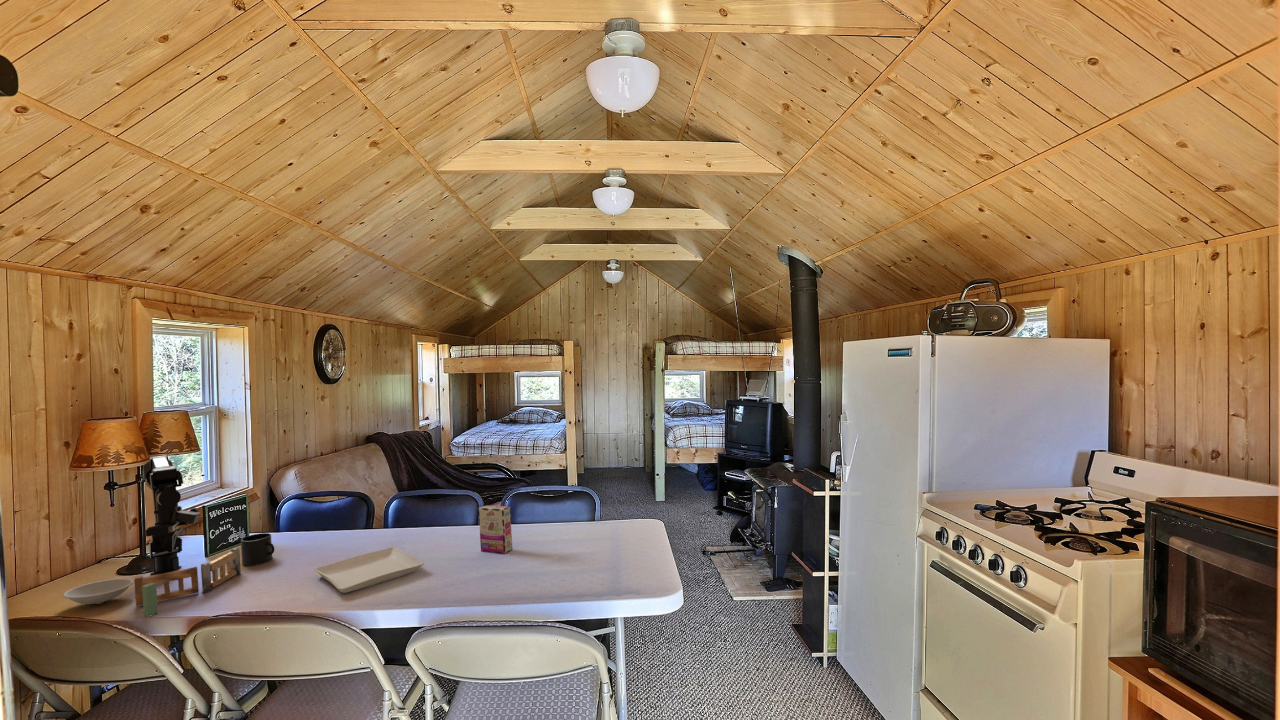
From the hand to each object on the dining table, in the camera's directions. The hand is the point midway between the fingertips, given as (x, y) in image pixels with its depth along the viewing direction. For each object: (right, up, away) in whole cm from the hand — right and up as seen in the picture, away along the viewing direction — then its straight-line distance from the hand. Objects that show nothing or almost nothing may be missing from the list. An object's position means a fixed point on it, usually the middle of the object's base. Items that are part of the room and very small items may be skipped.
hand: (170, 551), depth 195 cm
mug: (+17, -11, +21) cm, 29 cm away
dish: (-13, -13, -12) cm, 21 cm away
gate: (+9, -11, -12) cm, 18 cm away
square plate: (+66, -9, +2) cm, 67 cm away
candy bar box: (+105, -7, +21) cm, 107 cm away
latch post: (+12, -11, -22) cm, 28 cm away
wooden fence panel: (+17, -11, +1) cm, 20 cm away
